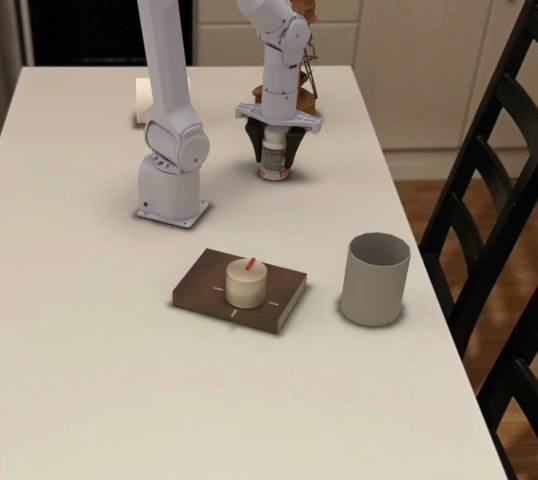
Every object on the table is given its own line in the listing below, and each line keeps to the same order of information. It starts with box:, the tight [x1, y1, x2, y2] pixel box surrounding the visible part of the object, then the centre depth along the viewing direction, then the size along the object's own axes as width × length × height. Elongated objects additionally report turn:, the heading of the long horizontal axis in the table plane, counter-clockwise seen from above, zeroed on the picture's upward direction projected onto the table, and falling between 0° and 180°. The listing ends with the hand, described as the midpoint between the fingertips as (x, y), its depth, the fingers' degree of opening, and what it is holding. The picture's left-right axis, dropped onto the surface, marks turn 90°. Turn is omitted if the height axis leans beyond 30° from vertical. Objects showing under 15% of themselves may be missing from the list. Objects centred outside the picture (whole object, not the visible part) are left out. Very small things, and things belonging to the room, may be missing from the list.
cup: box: [340, 231, 412, 327], centre depth 127 cm, size 8×8×10 cm
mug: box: [135, 76, 192, 124], centre depth 171 cm, size 12×10×8 cm
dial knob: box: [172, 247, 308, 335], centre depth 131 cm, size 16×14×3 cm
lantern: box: [251, 0, 319, 130], centre depth 163 cm, size 17×13×30 cm
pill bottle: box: [260, 124, 289, 181], centre depth 155 cm, size 5×5×8 cm
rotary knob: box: [226, 257, 267, 309], centre depth 127 cm, size 6×6×5 cm
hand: (274, 163), depth 157 cm, fingers closed on pill bottle, 5 cm apart
